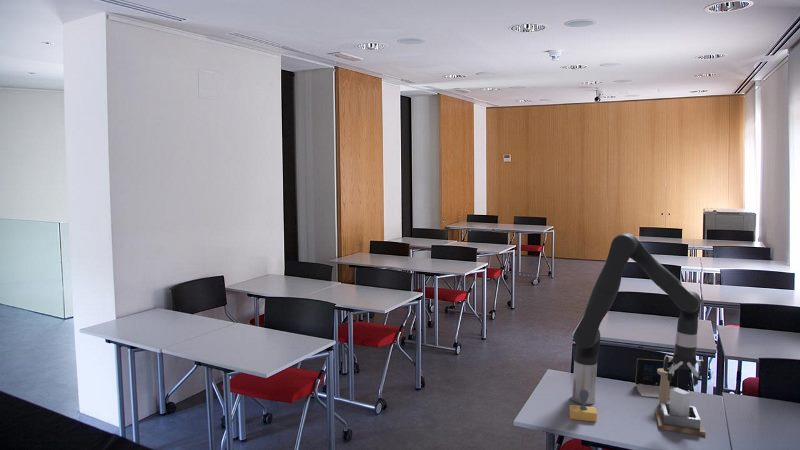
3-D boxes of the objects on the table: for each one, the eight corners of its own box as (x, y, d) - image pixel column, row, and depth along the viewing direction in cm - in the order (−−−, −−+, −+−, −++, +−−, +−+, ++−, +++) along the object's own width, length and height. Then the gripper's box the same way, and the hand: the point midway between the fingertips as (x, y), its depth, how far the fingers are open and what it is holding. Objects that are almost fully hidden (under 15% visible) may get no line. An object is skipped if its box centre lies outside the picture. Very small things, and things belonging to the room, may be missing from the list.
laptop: (641, 397, 252) (643, 368, 250) (635, 385, 264) (636, 358, 262) (685, 400, 249) (687, 371, 247) (677, 389, 261) (679, 361, 259)
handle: (672, 408, 240) (675, 373, 239) (655, 406, 242) (658, 371, 240) (670, 403, 245) (672, 369, 243) (654, 401, 247) (656, 367, 245)
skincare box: (689, 422, 224) (691, 392, 223) (681, 424, 223) (683, 394, 221) (675, 415, 230) (678, 386, 228) (667, 418, 228) (670, 388, 227)
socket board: (659, 429, 222) (660, 415, 221) (655, 412, 236) (656, 399, 235) (705, 436, 217) (706, 422, 216) (698, 418, 231) (699, 405, 230)
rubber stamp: (594, 415, 233) (596, 387, 231) (596, 422, 227) (598, 393, 226) (569, 413, 235) (570, 384, 233) (570, 419, 229) (571, 390, 228)
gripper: (666, 344, 221) (663, 384, 223) (708, 348, 216) (704, 390, 219) (664, 338, 228) (661, 377, 230) (704, 342, 223) (700, 382, 226)
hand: (682, 383), depth 224 cm, fingers open, 8 cm apart
